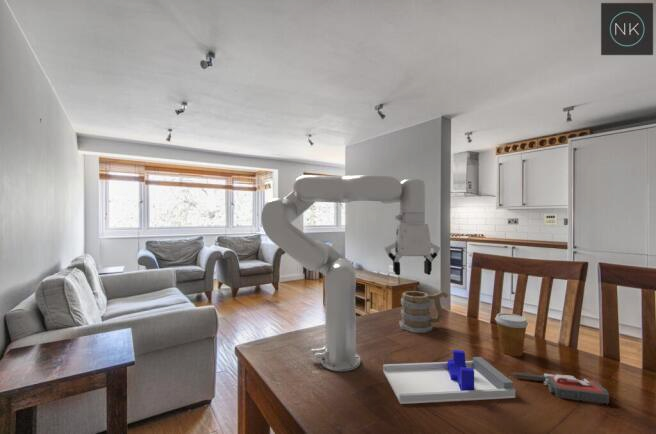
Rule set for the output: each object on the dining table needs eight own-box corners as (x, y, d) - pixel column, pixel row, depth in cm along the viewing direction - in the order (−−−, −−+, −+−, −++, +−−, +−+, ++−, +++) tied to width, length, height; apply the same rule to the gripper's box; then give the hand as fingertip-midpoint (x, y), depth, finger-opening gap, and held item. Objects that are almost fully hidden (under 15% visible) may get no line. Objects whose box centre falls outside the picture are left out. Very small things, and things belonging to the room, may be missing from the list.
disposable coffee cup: (525, 349, 103) (525, 314, 103) (530, 361, 94) (530, 323, 94) (493, 344, 107) (493, 311, 107) (496, 355, 98) (496, 319, 98)
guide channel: (400, 403, 72) (400, 389, 72) (383, 371, 88) (383, 359, 88) (515, 397, 75) (515, 383, 75) (478, 367, 90) (478, 355, 90)
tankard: (403, 332, 118) (403, 295, 118) (397, 321, 130) (397, 287, 131) (454, 333, 117) (454, 295, 117) (443, 322, 130) (443, 288, 130)
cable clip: (447, 369, 88) (447, 349, 88) (463, 371, 87) (463, 350, 87) (455, 392, 76) (455, 369, 76) (474, 394, 75) (474, 371, 75)
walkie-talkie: (595, 387, 80) (512, 377, 86) (595, 371, 80) (511, 361, 86) (616, 407, 72) (523, 394, 77) (616, 389, 72) (522, 377, 77)
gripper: (388, 219, 87) (388, 277, 87) (444, 219, 89) (444, 276, 89) (381, 219, 95) (381, 272, 95) (433, 219, 96) (433, 271, 96)
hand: (412, 274), depth 92 cm, fingers open, 9 cm apart
